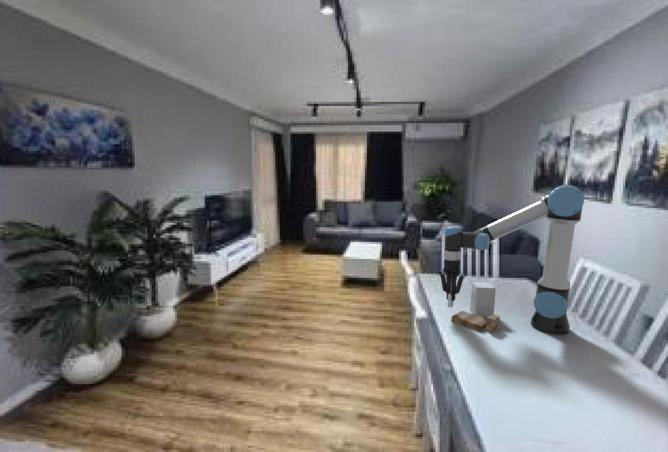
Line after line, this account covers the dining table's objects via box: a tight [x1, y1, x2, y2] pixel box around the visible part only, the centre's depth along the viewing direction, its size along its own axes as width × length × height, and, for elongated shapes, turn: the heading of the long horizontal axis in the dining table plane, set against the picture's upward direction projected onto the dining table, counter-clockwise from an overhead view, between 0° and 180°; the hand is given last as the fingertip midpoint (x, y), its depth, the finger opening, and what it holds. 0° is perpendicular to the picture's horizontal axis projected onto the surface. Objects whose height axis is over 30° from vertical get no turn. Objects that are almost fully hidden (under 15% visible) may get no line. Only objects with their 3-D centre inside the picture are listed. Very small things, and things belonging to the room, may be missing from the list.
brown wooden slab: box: [451, 310, 487, 332], centre depth 170 cm, size 14×10×3 cm
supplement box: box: [469, 281, 496, 318], centre depth 180 cm, size 9×9×15 cm
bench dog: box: [485, 313, 501, 334], centre depth 163 cm, size 3×6×6 cm, turn 134°
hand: (450, 306), depth 178 cm, fingers closed
